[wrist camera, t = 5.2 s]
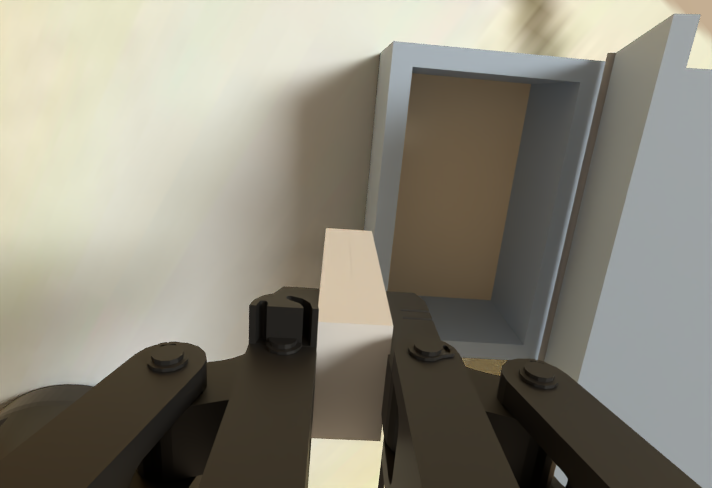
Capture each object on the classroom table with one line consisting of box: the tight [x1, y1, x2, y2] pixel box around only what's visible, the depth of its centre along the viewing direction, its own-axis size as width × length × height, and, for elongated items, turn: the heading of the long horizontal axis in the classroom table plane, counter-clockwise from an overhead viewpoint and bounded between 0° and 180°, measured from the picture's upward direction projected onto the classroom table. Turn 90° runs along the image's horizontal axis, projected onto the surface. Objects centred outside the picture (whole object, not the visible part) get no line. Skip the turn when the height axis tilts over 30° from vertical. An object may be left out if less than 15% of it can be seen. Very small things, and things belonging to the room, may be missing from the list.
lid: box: [538, 14, 712, 488], centre depth 19 cm, size 10×17×5 cm
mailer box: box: [364, 41, 606, 360], centre depth 28 cm, size 10×16×7 cm, turn 175°
